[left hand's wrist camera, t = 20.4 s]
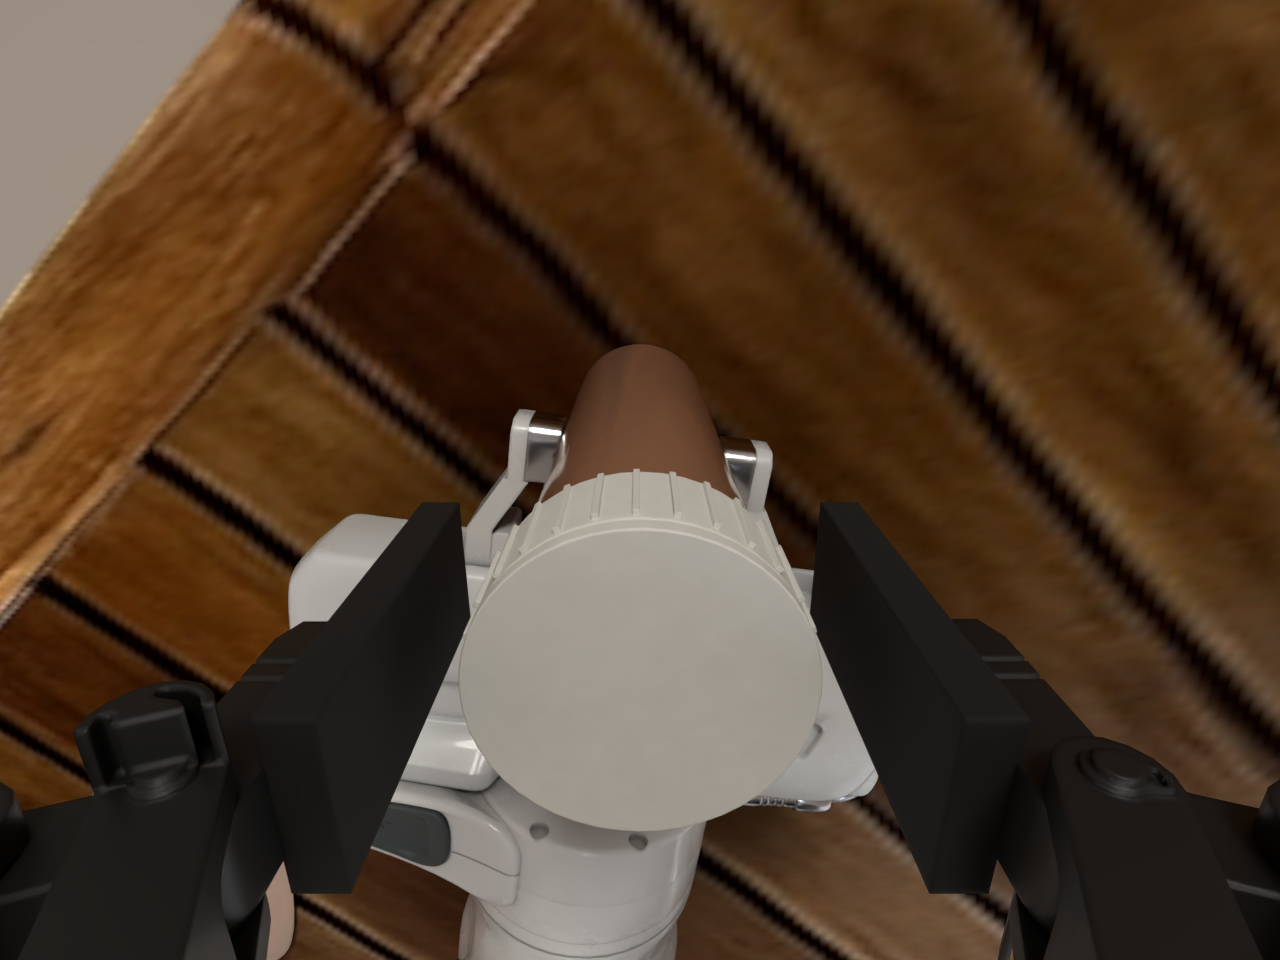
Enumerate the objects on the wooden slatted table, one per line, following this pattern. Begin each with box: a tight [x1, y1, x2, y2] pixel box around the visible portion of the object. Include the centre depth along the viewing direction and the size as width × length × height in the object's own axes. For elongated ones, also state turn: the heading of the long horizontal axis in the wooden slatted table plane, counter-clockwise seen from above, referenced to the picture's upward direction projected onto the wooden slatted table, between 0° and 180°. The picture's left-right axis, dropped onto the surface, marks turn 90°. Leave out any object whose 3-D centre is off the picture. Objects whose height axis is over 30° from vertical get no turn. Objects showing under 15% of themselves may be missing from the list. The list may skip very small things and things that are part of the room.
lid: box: [458, 469, 823, 831], centre depth 11 cm, size 6×6×2 cm
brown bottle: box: [538, 344, 745, 509], centre depth 19 cm, size 5×5×17 cm
